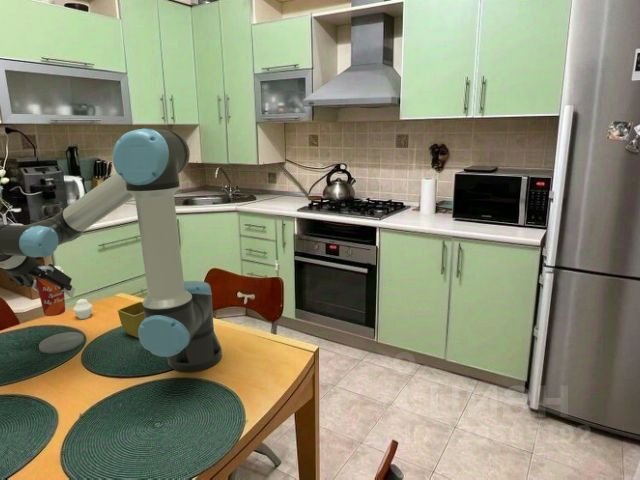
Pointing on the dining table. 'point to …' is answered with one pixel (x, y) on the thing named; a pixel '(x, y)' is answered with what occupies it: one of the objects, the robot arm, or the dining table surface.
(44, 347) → the coaster
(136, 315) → the flower pot
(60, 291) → the paper cup
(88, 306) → the muffin
